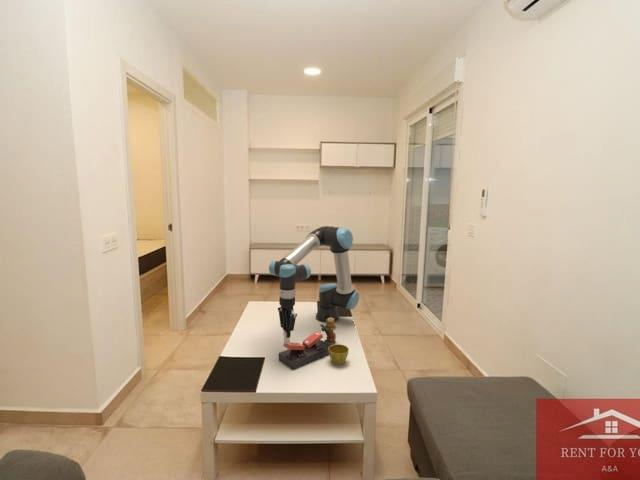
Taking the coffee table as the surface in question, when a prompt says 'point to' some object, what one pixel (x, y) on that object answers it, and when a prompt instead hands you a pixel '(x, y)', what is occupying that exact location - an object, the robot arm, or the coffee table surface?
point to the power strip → (304, 355)
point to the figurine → (329, 331)
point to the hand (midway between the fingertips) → (286, 342)
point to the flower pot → (338, 353)
